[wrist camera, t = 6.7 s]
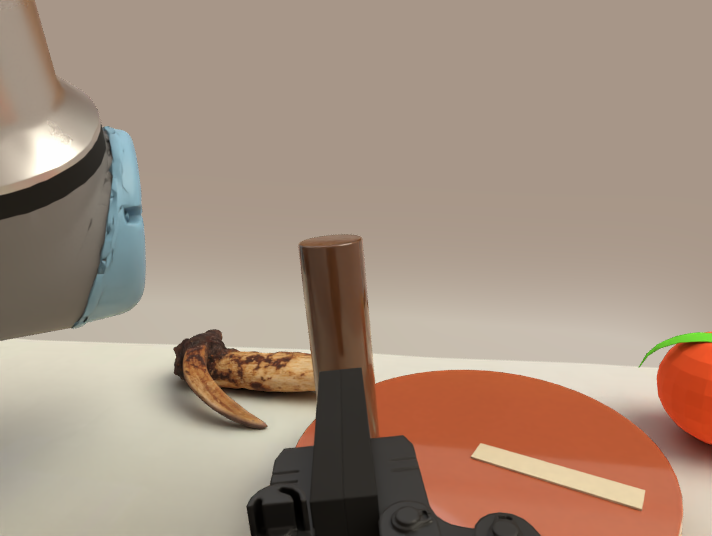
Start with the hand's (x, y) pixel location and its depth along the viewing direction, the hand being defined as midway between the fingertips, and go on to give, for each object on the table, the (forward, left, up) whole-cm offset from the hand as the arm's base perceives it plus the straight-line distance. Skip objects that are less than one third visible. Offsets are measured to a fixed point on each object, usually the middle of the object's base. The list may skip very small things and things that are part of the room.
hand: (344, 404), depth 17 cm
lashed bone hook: (-21, +12, -11) cm, 27 cm away
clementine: (+11, +22, -11) cm, 27 cm away
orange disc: (0, +10, -9) cm, 14 cm away
